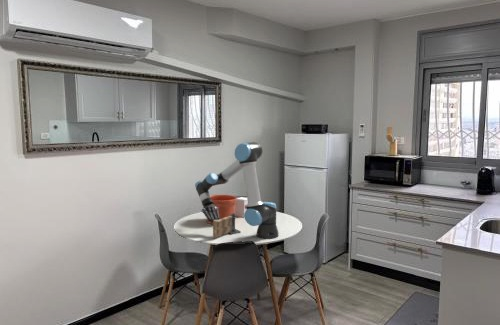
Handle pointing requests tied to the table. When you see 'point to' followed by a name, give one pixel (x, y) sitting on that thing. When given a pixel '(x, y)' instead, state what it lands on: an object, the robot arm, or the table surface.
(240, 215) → the supplement box
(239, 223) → the table surface
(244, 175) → the robot arm
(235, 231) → the gate post
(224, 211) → the pot
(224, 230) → the gate leaf
